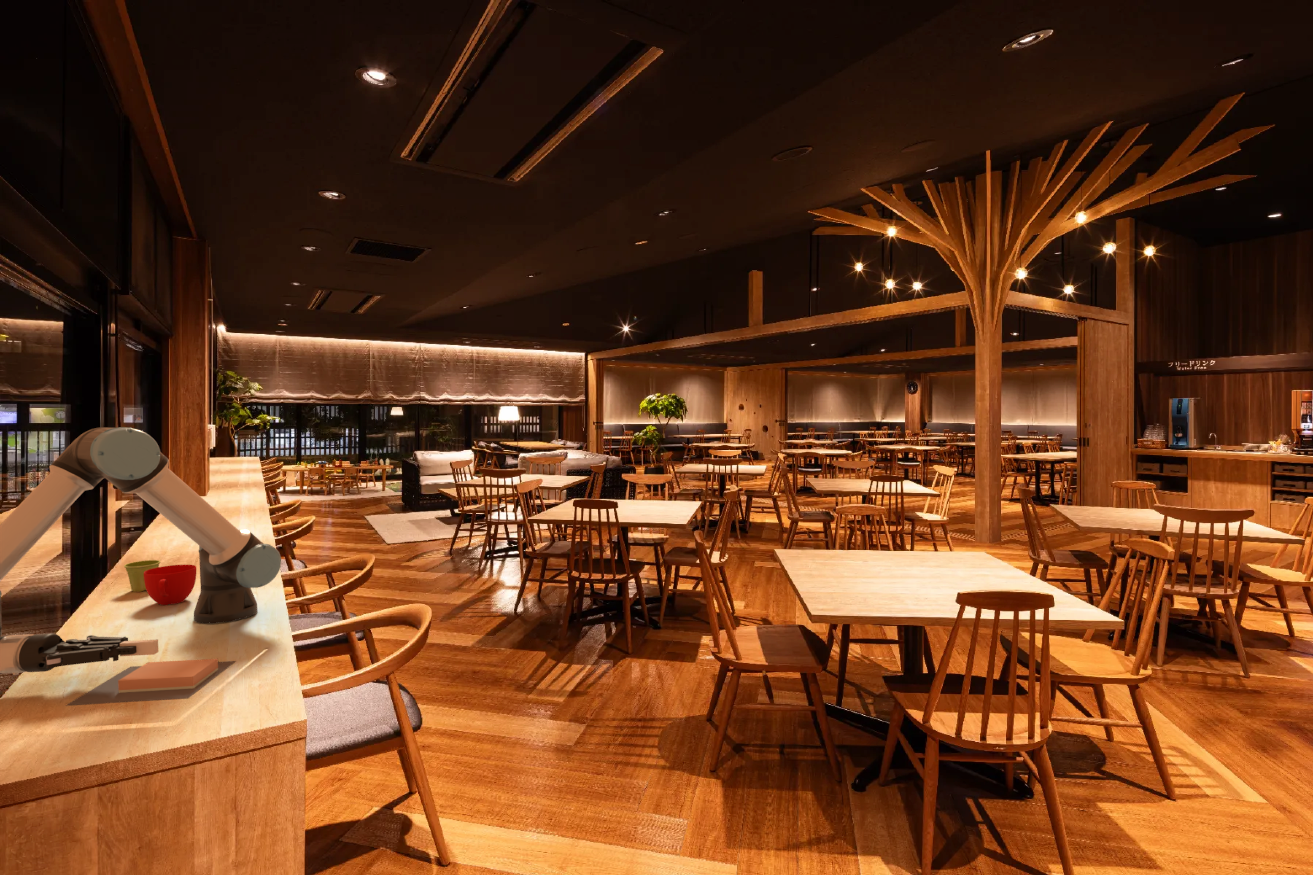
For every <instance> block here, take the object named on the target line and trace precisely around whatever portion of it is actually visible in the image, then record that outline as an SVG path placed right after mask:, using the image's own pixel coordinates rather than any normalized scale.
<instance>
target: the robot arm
mask: <svg viewBox="0 0 1313 875" xmlns="http://www.w3.org/2000/svg"><path fill="white" fill-rule="evenodd" d="M169 464H170V460H169V458H168V457H167V456H166V455H164V454H163V453H162V452H161V449H160V446H159V445H158V442H157V441H156V440H155V439H154V438H153V437H152V436H151V435H150V434H148V433H147V432H144V431H142V430H140V429H137V428H132V427H125V426H121V427H119V426H118V427H106V426H105V427H103V426H102V427H96V428H91V429H89V430H87V431H84V432H83V433H82V434H80V435H79V436H78V437H77V438H76V437H75V439H74V440H73V441H72V442H71V444H69V445H68V446H67V447H66V448H65V450H64V451H63V452H62V453H60V455H59V456H58V457H57V458H56V459H55V460H54V461H53V462H52V463H51V464H50V465H49V471H50V472H49V474H47V476H46V477H45V478H44V479H43V480H42V481H41V482H40V483H38V485H37V486H36V487H35V488H34V489H33V490H32V491H31V492H30V493H29V494H28V495H27V496H26V498H24V499H23V501H21V503H20V504H18V506H17V507H16V508H15V509H14V510H13V511H12V512H10V514H9V515H8V516H7V517H6V518H5V519H4V520H3V521H2V522H1V524H0V582H1V581H3V579H4V578H6V576H7V575H8V574H9V573H10V572H11V570H12V569H13V568H14V567H15V566H16V565H17V564H18V563H19V562H20V561H21V560H22V559H23V557H25V555H26V554H27V553H28V552H29V551H30V550H31V549H32V548H33V547H34V546H35V545H36V543H38V541H39V540H40V539H41V538H42V537H43V536H44V535H45V534H46V533H47V532H48V530H49V529H51V528H52V526H53V525H54V524H55V523H57V521H58V520H59V519H60V518H61V516H63V515H64V513H65V512H66V511H67V510H69V508H70V507H71V506H72V505H73V504H74V503H75V501H77V499H78V498H79V497H81V495H82V494H83V493H84V492H85V491H89V490H93V489H94V488H95V487H96V486H97V485H98V484H99V483H100V482H101V481H102V480H103V479H105V480H107V481H108V482H109V483H111V484H112V485H113V486H114V487H115V488H117V489H118V491H121V493H123V494H136V495H137V496H138V497H139V498H141V499H142V500H143V501H144V502H146V503H147V504H148V505H149V506H151V507H152V508H153V509H154V510H155V511H157V513H159V515H161V516H162V517H163V518H165V519H166V520H167V521H169V522H170V523H171V524H172V525H174V526H175V527H176V528H177V529H178V530H179V531H181V532H182V533H184V534H185V536H187V537H188V538H189V539H191V540H192V541H193V542H194V543H195V544H197V546H199V547H198V548H199V549H198V556H199V557H198V558H199V560H198V561H199V579H200V580H199V582H200V593H199V596H198V598H197V602H196V605H195V607H194V610H193V621H194V622H195V623H198V624H222V623H223V624H224V623H229V622H236V621H240V620H243V619H246V618H249V617H251V616H254V615H255V614H257V613H258V602H257V600H256V597H255V595H254V593H253V590H252V588H253V589H256V588H261V587H265V586H266V585H268V584H270V583H271V582H272V581H273V580H274V579H275V578H276V577H277V576H278V574H279V572H280V570H281V567H282V557H281V554H280V551H279V550H278V549H277V548H276V547H275V546H273V545H271V544H270V543H269V544H268V543H264V542H262V541H261V539H259V538H258V537H256V536H255V534H253V533H252V532H251V531H250V530H248V529H247V528H246V529H238V528H237V527H236V526H234V524H232V523H231V522H230V521H229V520H228V519H226V517H224V516H223V515H222V514H221V513H220V512H219V511H218V510H216V509H215V507H213V506H212V505H211V504H209V503H208V502H207V501H206V500H205V499H204V498H203V497H202V496H201V495H199V494H198V493H197V492H196V491H195V490H194V489H192V487H191V486H189V485H188V484H187V483H186V482H184V481H183V479H182V478H180V477H179V476H178V475H176V474H175V472H173V471H172V470H171V469H170V468H169ZM2 594H3V593H2V591H1V590H0V675H1V674H12V675H13V676H17V675H19V674H20V673H42V672H49V671H52V670H53V669H54V668H59V667H63V666H64V667H65V666H73V665H79V664H80V665H81V664H90V663H91V664H92V663H98V662H107V661H109V660H110V659H112V662H117V661H119V660H120V658H119V657H130V656H131V657H132V656H148V655H149V656H151V655H154V656H155V655H156V654H158V653H159V639H140V640H137V639H136V640H129V637H127V636H117V637H116V636H96V635H91V634H90V635H86V639H77V638H71V639H66V640H63V639H62V637H61V635H59V634H57V633H38V634H37V633H36V634H32V633H29V634H28V633H27V634H13V635H3V630H2V629H3V626H2V598H1V597H2Z"/></svg>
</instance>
